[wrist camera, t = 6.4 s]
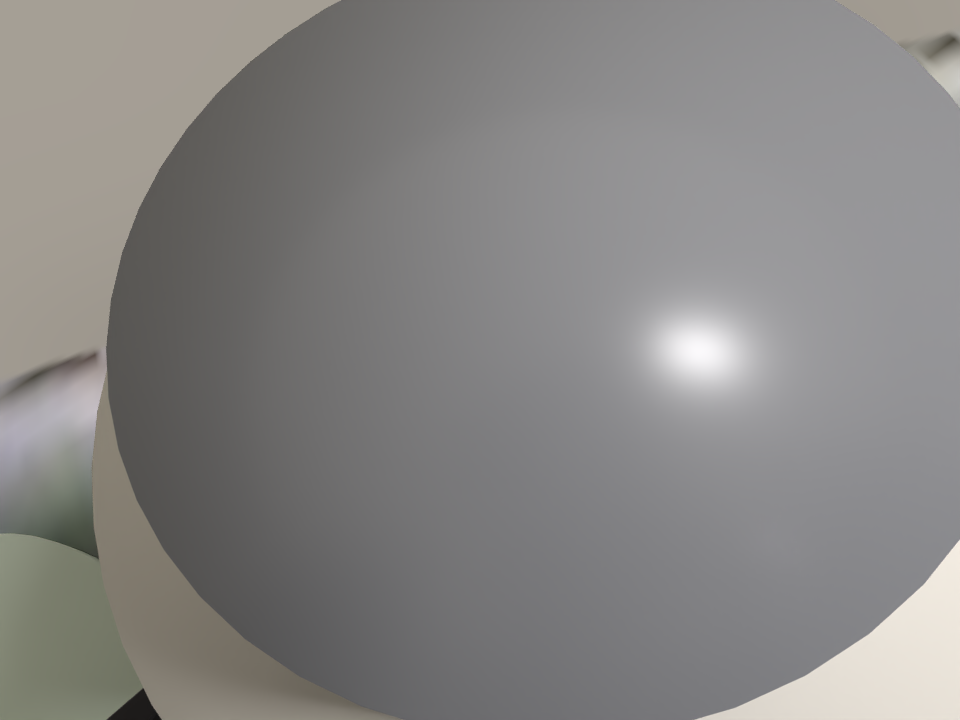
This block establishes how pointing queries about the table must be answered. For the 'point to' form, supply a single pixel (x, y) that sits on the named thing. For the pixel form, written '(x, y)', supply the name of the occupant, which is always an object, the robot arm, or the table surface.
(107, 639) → the pad
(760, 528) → the cylinder
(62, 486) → the table surface
